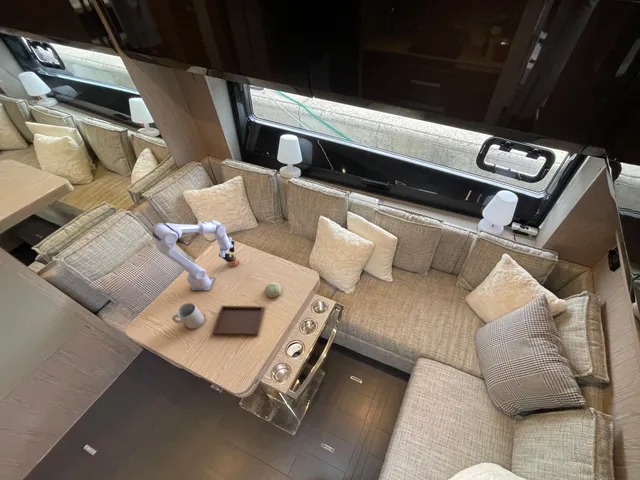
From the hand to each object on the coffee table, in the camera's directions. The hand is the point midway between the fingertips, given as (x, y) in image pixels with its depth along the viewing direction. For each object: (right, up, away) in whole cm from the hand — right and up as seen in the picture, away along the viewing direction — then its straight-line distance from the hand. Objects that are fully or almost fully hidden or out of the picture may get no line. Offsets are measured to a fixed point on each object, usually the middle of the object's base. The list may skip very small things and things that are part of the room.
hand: (230, 256), depth 162 cm
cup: (0, -4, +5) cm, 6 cm away
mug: (-10, -35, -21) cm, 42 cm away
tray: (+14, -34, -20) cm, 42 cm away
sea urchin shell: (+28, -20, -7) cm, 35 cm away
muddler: (0, -4, +4) cm, 6 cm away
